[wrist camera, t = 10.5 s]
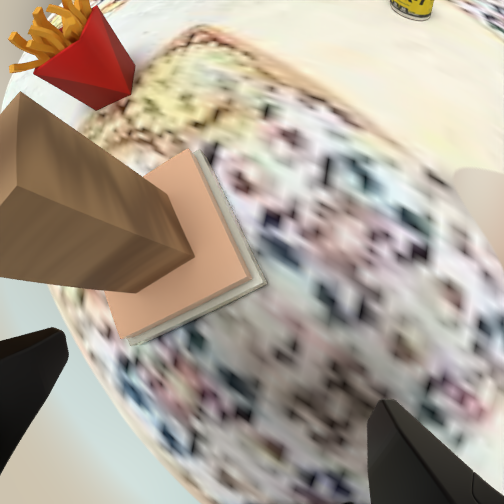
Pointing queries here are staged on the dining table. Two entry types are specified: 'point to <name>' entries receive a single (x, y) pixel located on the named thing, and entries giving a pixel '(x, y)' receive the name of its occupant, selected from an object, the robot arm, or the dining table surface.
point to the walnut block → (78, 210)
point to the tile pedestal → (197, 269)
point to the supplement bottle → (413, 8)
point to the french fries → (78, 54)
